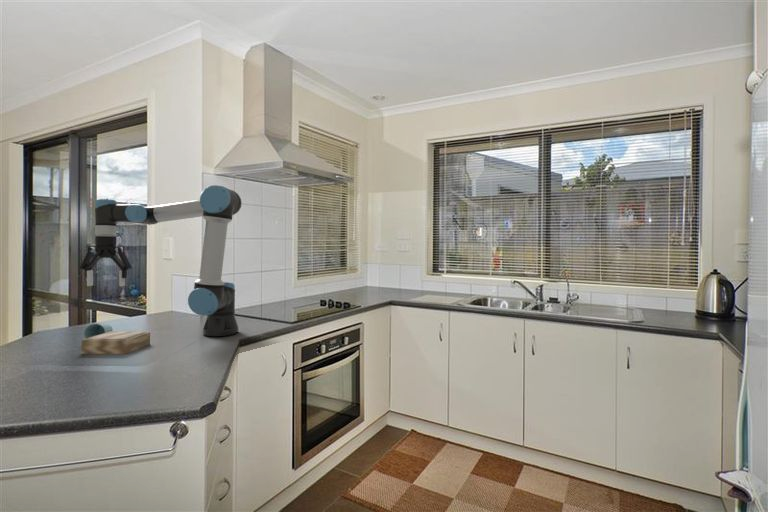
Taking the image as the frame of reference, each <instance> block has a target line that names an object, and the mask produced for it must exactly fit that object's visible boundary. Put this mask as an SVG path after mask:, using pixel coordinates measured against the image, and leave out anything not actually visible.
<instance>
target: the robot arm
mask: <svg viewBox="0 0 768 512" xmlns="http://www.w3.org/2000/svg"><path fill="white" fill-rule="evenodd" d="M241 208H242V199H241V196H240V195H239V194H238V193H237V192H236V191H234V190H233V189H229V188H228V187H225V186H223V185H218V184H215V185H214V184H213V185H210V186H207V187H205V189H203V190H202V192H201V193H200V196H199V199H195V200H188V201H181V202H175V203H166V204H159V205H153V206H152V205H151V206H144V205H142V204H137V203H132V204H131V203H130V204H129V203H128V204H127V203H126V204H124V203H123V204H122V203H121V204H119V203H117V200H116V199H112V198H111V199H110V198H98V199H96V200H95V206H94V216H95V217H94V218H95V224H94V227H95V228H94V229H95V230H94V231H95V232H94V233H95V234H94V235H96V236H95V237H94V239H95V240H94V241H95V243H94V244H95V247H94V246H89V247H87V252H86V254H85V257H84V258H83V261H82V262H81V264H80V266H79V268H80V269H81V270H84V277H85V279H86V286H87V287H92V286H94V270H93V268H94V267H95V266H96V264H97V263H98V262H99V261H100V259H104V258H105V259H109V258H110V259H112V261H113V262H114V263H115V264H116V265H117V267H118V268H119V269H120V270H119V271H118V274H119V275H118V276H119V278H118V280H119V281H118V283H119V285H118V286H119V287H125V286H126V279H127V277H128V276H127V275H128V270H131V269H132V265H131V263H130V261H129V258H128V257H127V255H126V253H125V248H124V247H122V246H121V247H117V244H118V243H117V237H116V235H117V223H134V224H144V225H147V226H149V225H156V224H158V223H164V222H169V221H178V220H186V219H194V218H200V217H202V218H203V219H204V221H205V224H204V225H205V227H204V234H203V235H204V236H203V242H202V243H203V244H202V251H201V252H202V253H201V259H200V268H199V276H198V278H197V279H196V280H195V281H194V286H193V290H192V291H191V292H190V293H189V294H188V298H187V304H188V306H189V309H190V310H191V312H192V313H194V314H196V315H199V316H202V317H203V316H206V318H205V322H204V325H203V328H202V335H203V336H209V337H210V336H211V337H224V336H232V335H235V334H234V333H236V332H238V331H239V325H238V321H237V318H236V315H235V313H236V312H235V307H236V306H235V304H236V297H235V296H236V288H235V284H234V283H233V282H226V281H225V282H224V281H223V280H222V275H223V267H224V259H225V258H224V256H225V251H226V250H225V249H226V242H227V241H226V240H227V234H228V233H227V232H228V225H229V223H231V222H232V221H233V216H235V215H236V214H237V213H239V211H240V210H241ZM116 253H117V254H118V255H117V254H116ZM94 254H95V255H94ZM238 333H239V332H238ZM231 334H232V335H231ZM236 334H237V333H236Z"/></svg>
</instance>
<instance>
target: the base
mask: <svg viewBox="0 0 768 512" xmlns="http://www.w3.org/2000/svg"><path fill="white" fill-rule="evenodd" d="M149 345H151V331H117V330H115V331H114V330H112V331H111V332H107V333H103V334H100V335H97V336H93V337H90V338H87V339H85V338H84V339H81V354H82V355H83V354H84V355H85V354H87V355H88V354H89V355H90V354H91V355H127V354H129V353H132V352H134V351H137V350H140V349H141V348H144V347H147V346H149Z"/></svg>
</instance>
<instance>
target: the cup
mask: <svg viewBox="0 0 768 512" xmlns="http://www.w3.org/2000/svg"><path fill="white" fill-rule="evenodd" d="M111 331H114V330H113V326H111V324H109V323H91V324H89V325H87V326H86V327H85V329H84V331H83V337H84V339H87V338H90V337H93V336H97V335H100V334H103V333H107V332H111Z"/></svg>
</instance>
